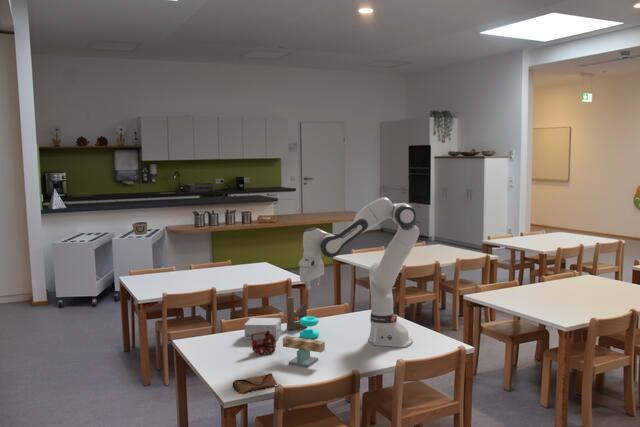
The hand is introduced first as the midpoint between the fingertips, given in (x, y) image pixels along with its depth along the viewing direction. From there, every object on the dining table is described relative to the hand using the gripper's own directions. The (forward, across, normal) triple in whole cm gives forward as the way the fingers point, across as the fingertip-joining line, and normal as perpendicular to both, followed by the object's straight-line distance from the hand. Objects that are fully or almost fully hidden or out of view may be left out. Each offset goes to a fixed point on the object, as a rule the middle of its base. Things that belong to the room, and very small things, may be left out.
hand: (312, 287), depth 288 cm
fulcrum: (+29, +26, +8) cm, 39 cm away
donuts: (+29, -8, -7) cm, 31 cm away
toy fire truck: (+29, +22, -16) cm, 40 cm away
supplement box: (+29, +2, -29) cm, 41 cm away
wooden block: (+29, -18, -20) cm, 40 cm away
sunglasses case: (+29, +59, +3) cm, 66 cm away
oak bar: (+22, +26, +8) cm, 35 cm away
